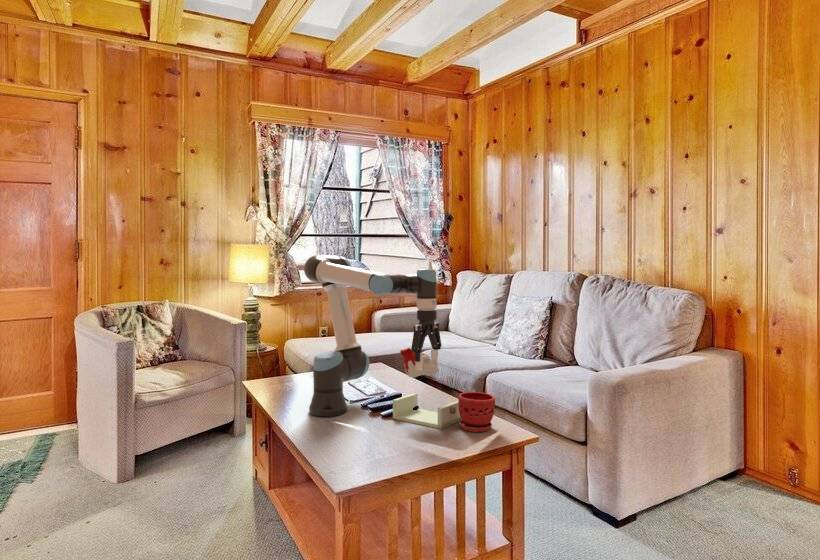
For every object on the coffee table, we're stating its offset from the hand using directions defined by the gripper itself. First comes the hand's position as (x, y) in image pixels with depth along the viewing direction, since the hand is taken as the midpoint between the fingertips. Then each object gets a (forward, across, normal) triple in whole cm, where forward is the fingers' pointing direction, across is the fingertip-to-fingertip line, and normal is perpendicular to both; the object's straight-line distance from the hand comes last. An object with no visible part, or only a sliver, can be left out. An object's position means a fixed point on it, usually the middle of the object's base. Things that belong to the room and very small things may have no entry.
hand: (426, 368), depth 194 cm
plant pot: (+20, +1, -21) cm, 29 cm away
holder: (+20, 0, 0) cm, 20 cm away
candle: (+4, +1, 0) cm, 4 cm away
